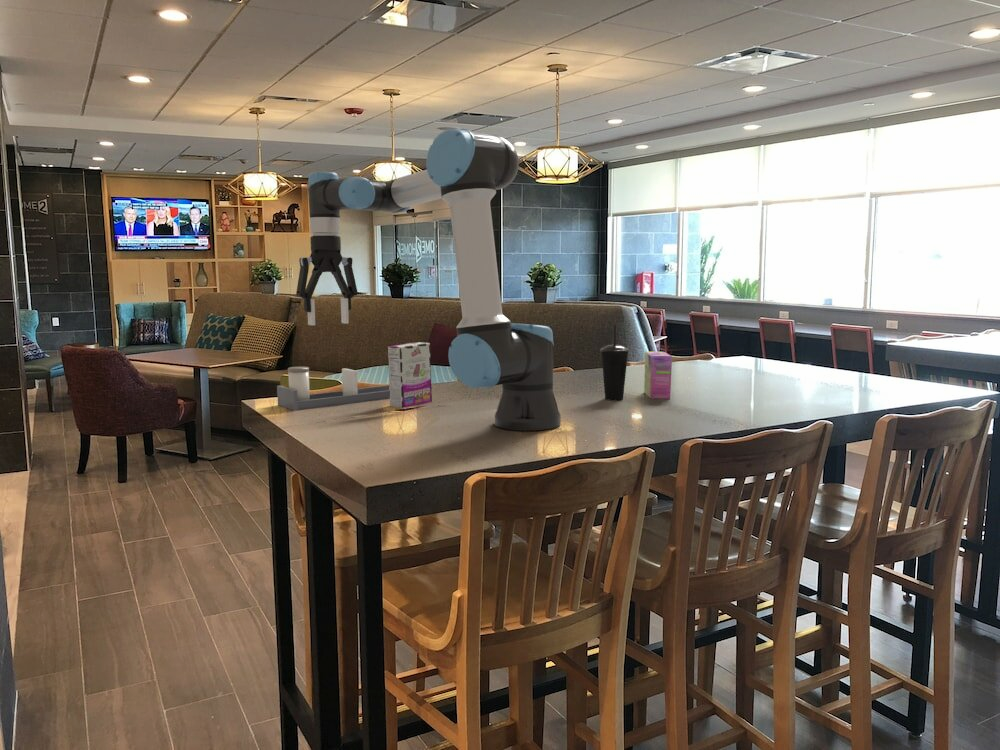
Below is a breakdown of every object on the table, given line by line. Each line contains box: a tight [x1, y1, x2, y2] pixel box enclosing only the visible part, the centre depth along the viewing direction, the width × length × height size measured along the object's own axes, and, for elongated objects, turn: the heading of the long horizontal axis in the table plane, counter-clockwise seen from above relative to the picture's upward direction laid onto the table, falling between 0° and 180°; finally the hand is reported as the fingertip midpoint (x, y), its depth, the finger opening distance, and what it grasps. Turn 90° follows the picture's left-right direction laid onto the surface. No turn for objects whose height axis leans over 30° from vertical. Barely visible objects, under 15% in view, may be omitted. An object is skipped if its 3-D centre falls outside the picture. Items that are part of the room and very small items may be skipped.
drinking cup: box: [600, 324, 630, 401], centre depth 214 cm, size 8×8×20 cm
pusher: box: [341, 367, 359, 396], centre depth 210 cm, size 7×4×8 cm, turn 38°
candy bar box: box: [387, 341, 433, 412], centre depth 203 cm, size 11×5×16 cm, turn 143°
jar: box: [287, 366, 311, 401], centre depth 201 cm, size 5×5×10 cm
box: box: [643, 351, 673, 400], centre depth 219 cm, size 10×6×12 cm, turn 179°
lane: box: [276, 384, 390, 412], centre depth 209 cm, size 10×32×6 cm, turn 128°
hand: (328, 324), depth 204 cm, fingers open, 9 cm apart
